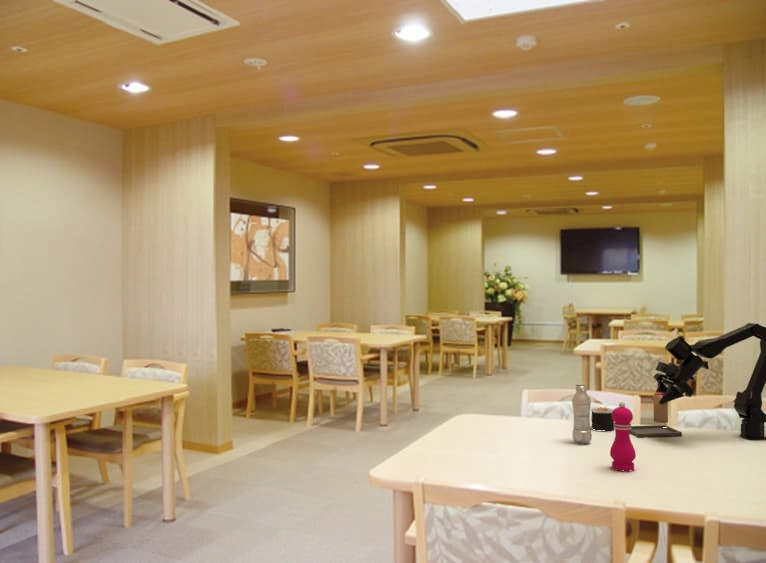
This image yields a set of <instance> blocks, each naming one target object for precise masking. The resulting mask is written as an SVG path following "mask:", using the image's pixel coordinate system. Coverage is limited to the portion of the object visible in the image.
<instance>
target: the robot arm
mask: <svg viewBox="0 0 766 563" xmlns="http://www.w3.org/2000/svg"><path fill="white" fill-rule="evenodd" d="M751 337H754V338H756V339H759V340H760V341H759V347H760V348H759V349H760V353H759V356H758V358H757V360H756V362H755V365H754V368H753V370H752V373H751V376H750V378H749V381H748V383H747V386H746V388H745V389H744V390H743V391H742V392H741V391H737V393H736V396H735V399H734V400H733V403H734V404H733V408H734V411H735V412H736V413H737V415H738V417H739V418H740V419H741V423H740V433H739V435H740V437H742V438H744V437H745V439H747V440H750V441H751V440H754V439H756V440H766V436H765V423H766V413H765V412H764V411H763V410H762V407H763V399H762V393H763V391H764V389H765V386H766V327H765V326H763V325H760V324H759V323H755V322H753V323H752V322H748V323H746V324H744V325H742V326H740V327H738V328H736V329H733V330H731V331H729V332H727V333H725V334H721V335H719V336H718V337H711V338H705V339H700V340H698V341H696V342H695V343H694V344H689V343H688V342H687V340H685V338H684V337H683V336H681V335H678V336H677V337H675V338H673V339H672V340H670V341H668V342H667V344H666V345H665V348H664V349H665V350H666V351H667V352H668V353H669V354H670V355H671V356H672V357H673V358H674V359H675V360H676V361H681V362H680V363H679V365H677V364H676V363H673V362H669V363H665V362H663V361H658V362H657V364H656V368H655V371H657V373H655V374H654V375H653V376H652V377H653V379H654V380H655V381H656V384H657V388H656V390H655V392H654V393H656V392H665V394H664V395H663V397H662V398H661V400H660V401H659V403H660V404H664V403H667V402H668V403H669V402H672V401H675V400H676V399H680V398H684V397H685V396H686V397H688V398H691V397H692V396H693V395H695V393H694V392H695V390H694V388H693V387H692V386H691V385H690V384H689V383H688V382H689V381H693V380H694V379H695V377H694V376H695V375H696V374H697V372H699V370H700V369H701V368H702V369H704V370H709V369H710V367H709V361H707V360H703V359H702V358H704V359H709V360H710V359H714V358H715V357H718V356H719V355H720V354H722V353H723V351H724V350H725V349H727V348H728V347H731V346H733V345H736V344H739V343H741V342H743V341H745V340H747V339H750V338H751ZM660 372H661V373H660ZM663 373H664V374H663ZM651 399H652V401H653V398H651ZM739 435H738V436H739Z"/></svg>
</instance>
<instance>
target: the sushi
mask: <svg viewBox="0 0 766 563" xmlns="http://www.w3.org/2000/svg"><path fill="white" fill-rule="evenodd" d="M613 410H614V409H612V408H609V407H602V406H599V407H593V408H590V411H591V429H592V428H593V429H595V430H605V431H604V432H608V431H609V432H613V431H614V430H615V428H614V423H615V422H614V420H613V419H612V411H613ZM593 429H592V430H593ZM612 430H613V431H612Z"/></svg>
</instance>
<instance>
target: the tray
mask: <svg viewBox="0 0 766 563" xmlns="http://www.w3.org/2000/svg"><path fill="white" fill-rule="evenodd" d="M663 427H667V428H663ZM629 434H630V435H632V436H634V437H635V438H638V439H640V438H641V439H642V438H644V437H648V438H668V437H669V438H670V437H671V438H673V437H683V432H682V431H680V430H677V429H675V428H673V427H671V426H668V425H666V424H657V425H656V424H655V425H652V424H651V425H650V424H649V425H631V429H630V433H629ZM644 439H645V438H644Z"/></svg>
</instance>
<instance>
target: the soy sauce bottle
mask: <svg viewBox="0 0 766 563" xmlns="http://www.w3.org/2000/svg"><path fill="white" fill-rule="evenodd" d="M655 392H656V391H655ZM655 392H654V393H653V395H652V396H653V397H652V399H653V400H652V401H653V402H652V403H653V422H655V423H659V424H668V423H669V407H668V406H669V402H667V403H664V404H660V403H659V401H660V400H661V398H662V397H663V395H664V394H665V392H656V393H655Z"/></svg>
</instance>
